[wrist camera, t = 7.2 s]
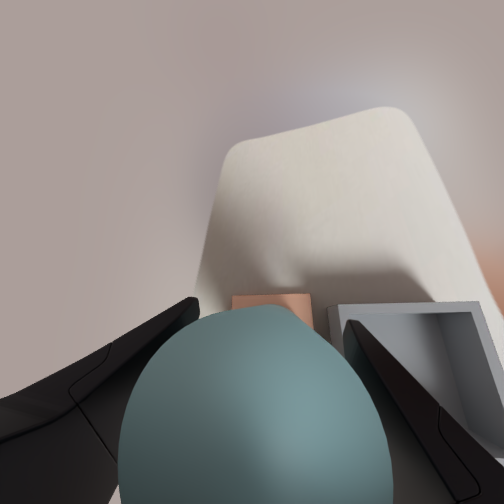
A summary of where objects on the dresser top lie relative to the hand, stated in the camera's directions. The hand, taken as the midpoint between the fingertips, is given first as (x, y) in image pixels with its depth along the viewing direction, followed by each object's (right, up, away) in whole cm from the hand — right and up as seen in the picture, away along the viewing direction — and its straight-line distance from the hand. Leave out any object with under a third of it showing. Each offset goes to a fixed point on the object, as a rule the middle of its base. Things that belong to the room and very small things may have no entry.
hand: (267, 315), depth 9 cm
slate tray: (+10, -5, +6) cm, 12 cm away
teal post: (+1, -4, +7) cm, 8 cm away
